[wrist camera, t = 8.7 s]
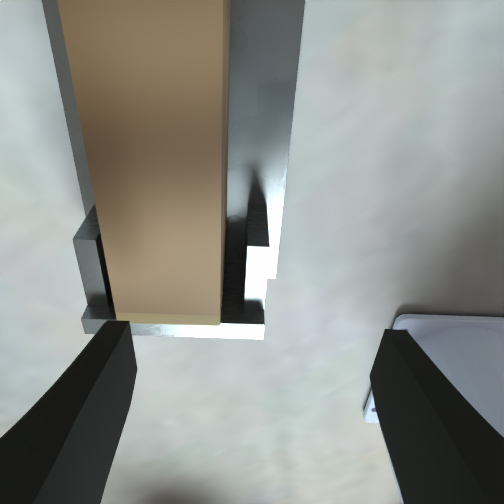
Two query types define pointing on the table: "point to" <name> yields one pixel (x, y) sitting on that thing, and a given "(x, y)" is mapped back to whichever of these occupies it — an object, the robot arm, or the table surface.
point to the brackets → (239, 168)
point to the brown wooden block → (156, 148)
